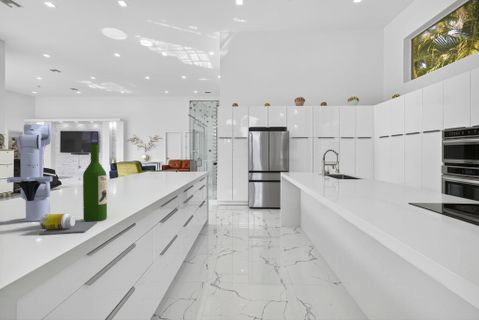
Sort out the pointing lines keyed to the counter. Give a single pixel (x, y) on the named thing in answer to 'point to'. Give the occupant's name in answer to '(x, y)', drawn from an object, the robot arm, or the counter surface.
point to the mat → (71, 229)
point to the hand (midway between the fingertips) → (30, 200)
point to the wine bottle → (94, 189)
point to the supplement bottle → (56, 221)
